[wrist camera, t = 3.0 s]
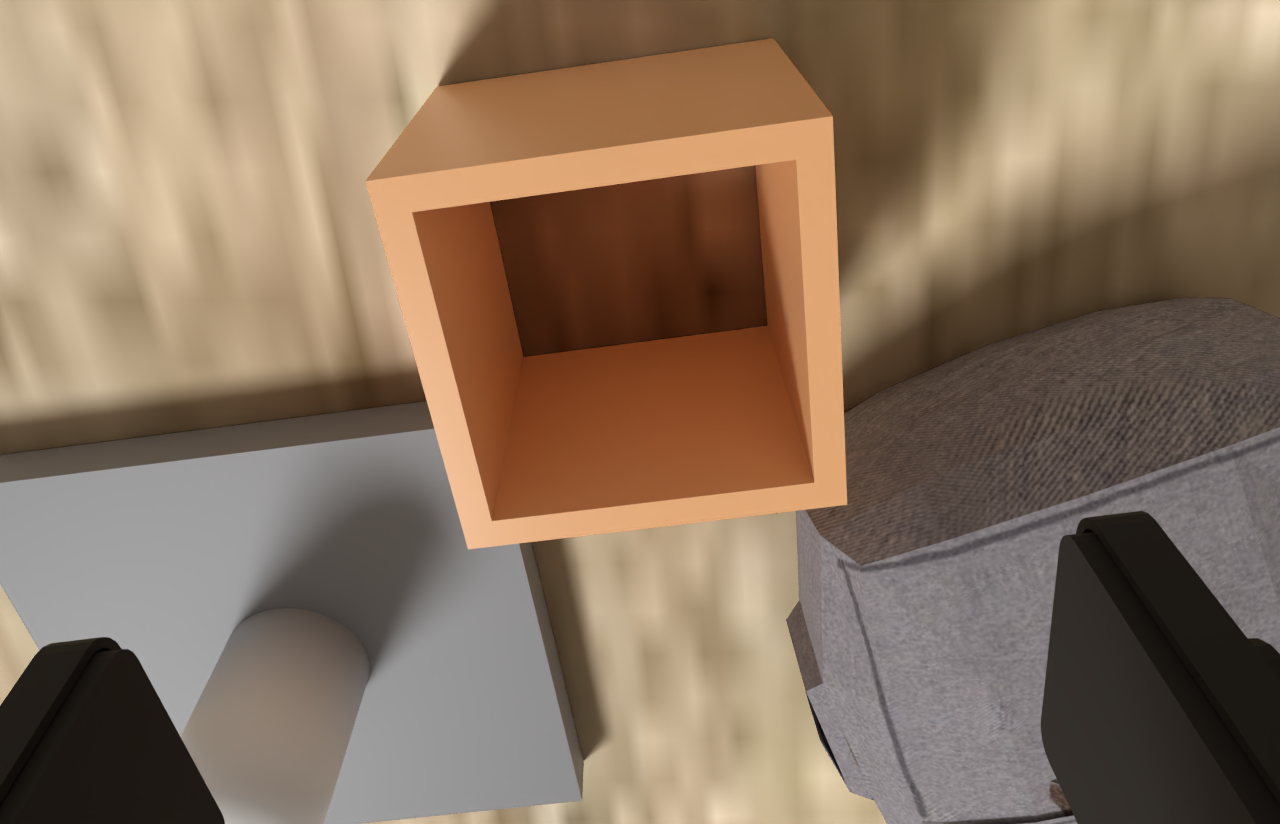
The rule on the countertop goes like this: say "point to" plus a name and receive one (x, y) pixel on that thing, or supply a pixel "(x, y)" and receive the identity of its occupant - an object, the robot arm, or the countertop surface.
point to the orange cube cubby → (636, 372)
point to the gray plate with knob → (303, 614)
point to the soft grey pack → (1024, 539)
